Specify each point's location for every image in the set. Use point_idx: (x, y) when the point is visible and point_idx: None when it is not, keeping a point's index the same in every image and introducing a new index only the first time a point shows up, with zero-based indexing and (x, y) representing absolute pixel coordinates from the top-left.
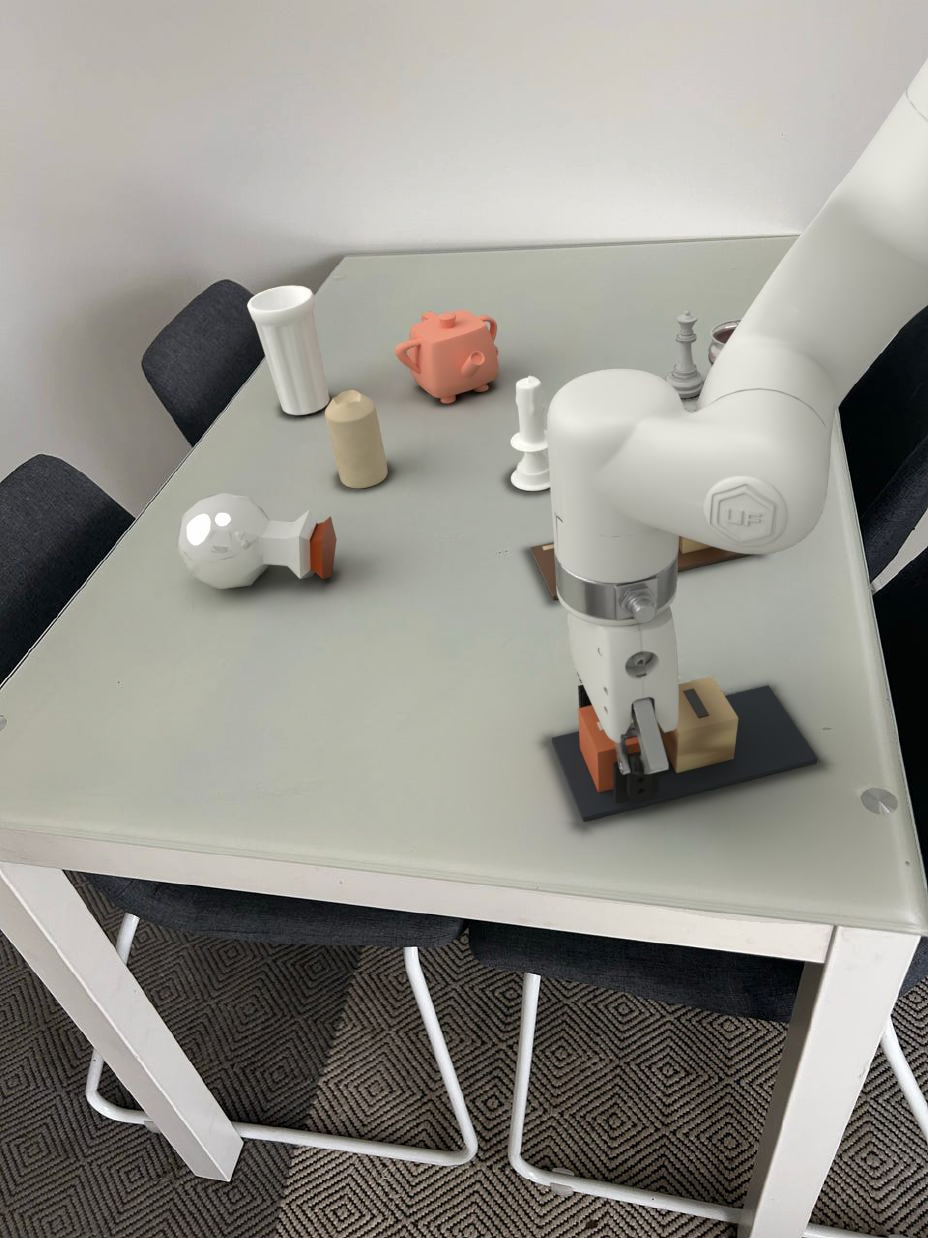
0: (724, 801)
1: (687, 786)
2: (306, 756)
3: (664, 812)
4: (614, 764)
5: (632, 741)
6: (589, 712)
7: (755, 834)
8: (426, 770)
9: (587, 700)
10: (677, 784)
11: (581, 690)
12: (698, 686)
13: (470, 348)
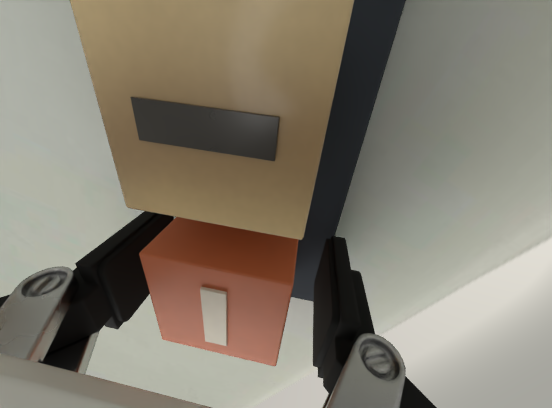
0: (402, 117)
1: (342, 170)
2: (164, 385)
3: (357, 216)
4: (322, 376)
5: (277, 323)
6: (176, 334)
7: (512, 104)
8: (197, 351)
9: (140, 298)
10: (330, 183)
11: (118, 325)
12: (121, 69)
13: None
